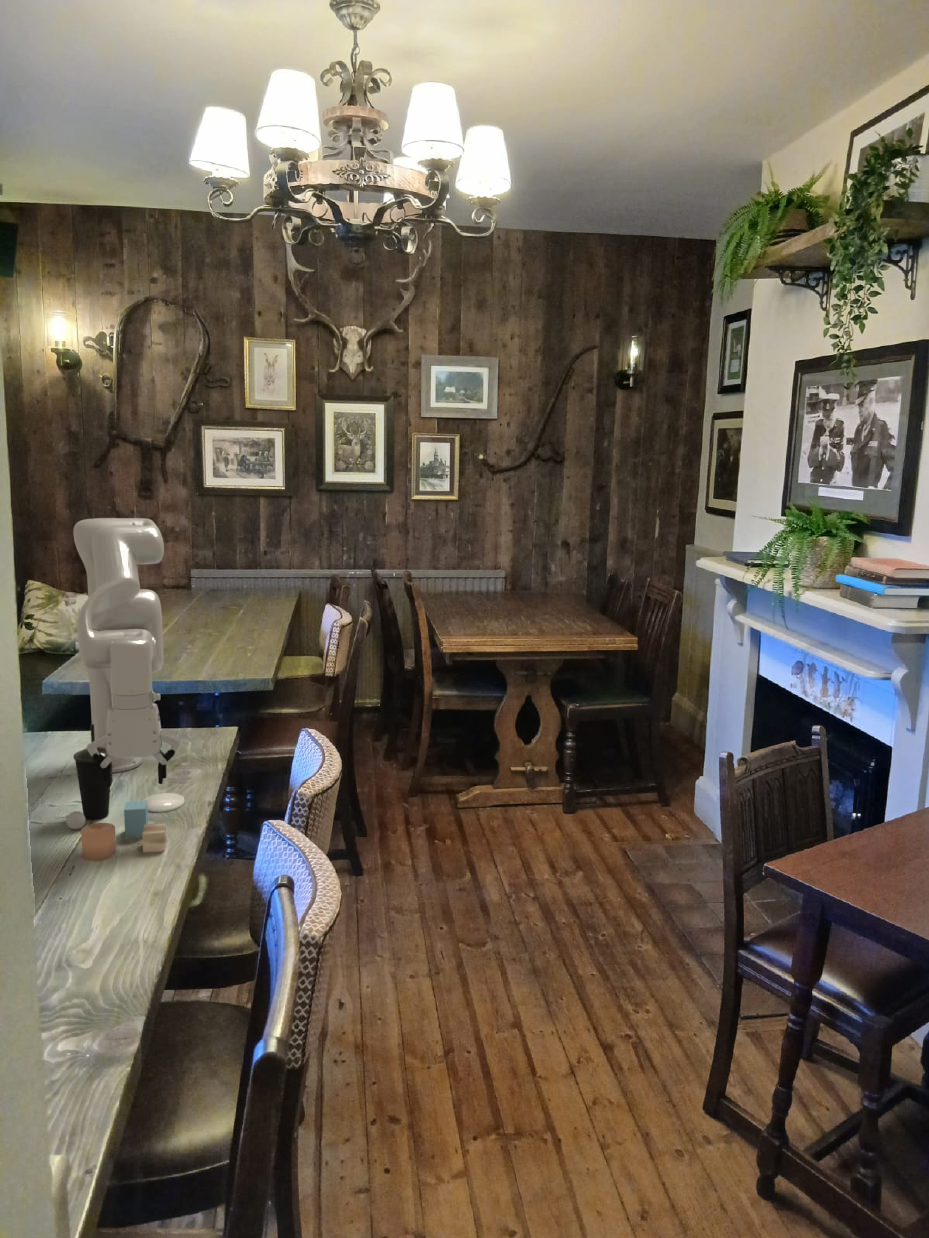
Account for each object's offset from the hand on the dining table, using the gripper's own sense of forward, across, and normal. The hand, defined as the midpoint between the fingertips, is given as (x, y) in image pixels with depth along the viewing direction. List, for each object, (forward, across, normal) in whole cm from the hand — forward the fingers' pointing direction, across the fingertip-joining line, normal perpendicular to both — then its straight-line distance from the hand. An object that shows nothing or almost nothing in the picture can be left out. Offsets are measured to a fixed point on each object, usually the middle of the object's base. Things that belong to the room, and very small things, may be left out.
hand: (135, 783), depth 175 cm
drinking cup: (+11, +9, -11) cm, 18 cm away
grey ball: (+11, +12, -5) cm, 17 cm away
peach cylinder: (+11, +6, +7) cm, 15 cm away
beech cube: (+11, -4, +6) cm, 13 cm away
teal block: (+11, 0, -1) cm, 11 cm away
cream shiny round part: (+10, -4, -15) cm, 19 cm away
